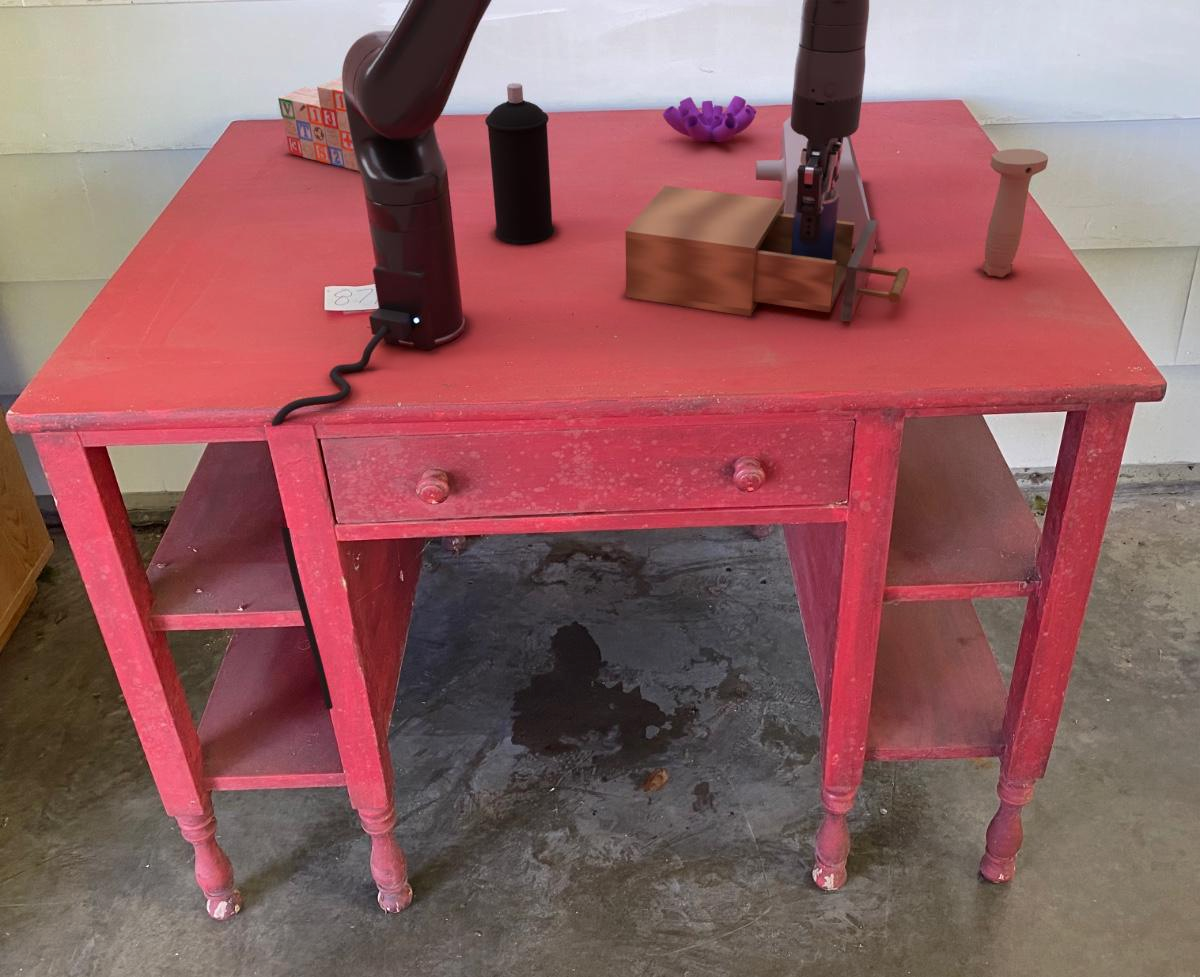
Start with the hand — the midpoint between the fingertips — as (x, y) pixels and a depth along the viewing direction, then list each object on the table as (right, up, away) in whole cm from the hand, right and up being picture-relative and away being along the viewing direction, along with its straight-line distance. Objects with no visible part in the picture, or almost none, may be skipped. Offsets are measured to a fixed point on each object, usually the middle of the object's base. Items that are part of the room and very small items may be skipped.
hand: (814, 231), depth 132 cm
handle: (+25, -3, +9) cm, 26 cm away
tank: (+4, +8, +25) cm, 26 cm away
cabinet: (-12, -4, +9) cm, 16 cm away
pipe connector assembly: (-8, +26, +49) cm, 56 cm away
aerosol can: (-36, +5, +22) cm, 42 cm away
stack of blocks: (-65, +22, +46) cm, 83 cm away
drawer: (+2, -6, +4) cm, 8 cm away
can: (0, -5, +4) cm, 6 cm away
